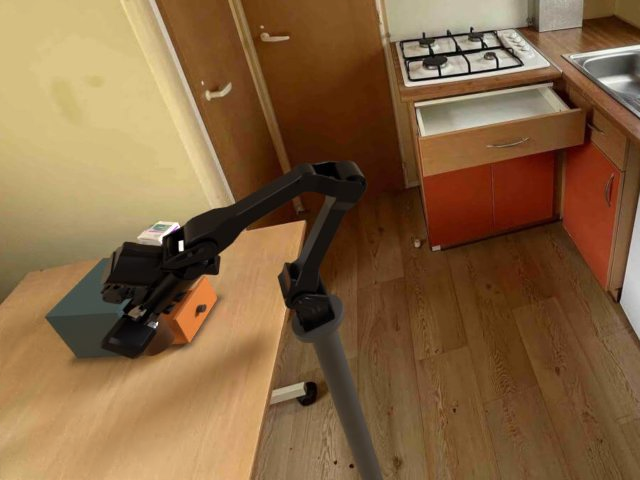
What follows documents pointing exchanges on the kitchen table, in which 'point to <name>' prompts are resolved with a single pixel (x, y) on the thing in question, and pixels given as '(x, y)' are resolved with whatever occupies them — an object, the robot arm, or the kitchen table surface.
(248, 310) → the kitchen table surface
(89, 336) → the cubby
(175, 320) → the drawer
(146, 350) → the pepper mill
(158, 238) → the syrup box
